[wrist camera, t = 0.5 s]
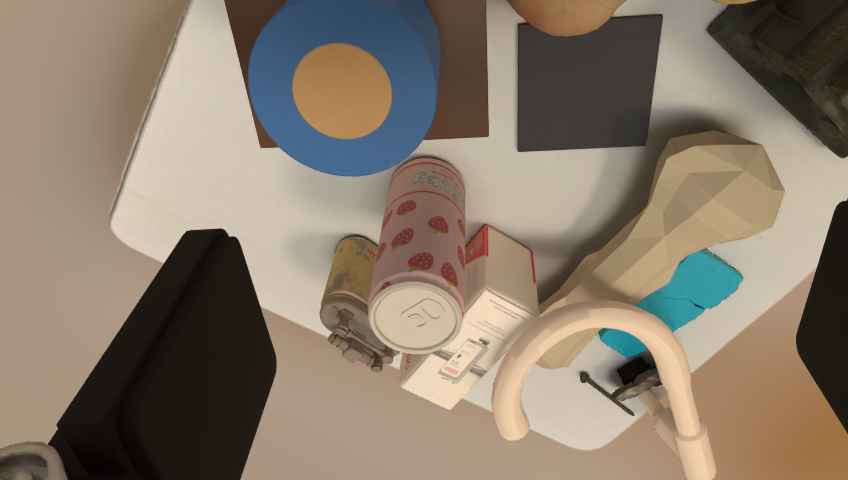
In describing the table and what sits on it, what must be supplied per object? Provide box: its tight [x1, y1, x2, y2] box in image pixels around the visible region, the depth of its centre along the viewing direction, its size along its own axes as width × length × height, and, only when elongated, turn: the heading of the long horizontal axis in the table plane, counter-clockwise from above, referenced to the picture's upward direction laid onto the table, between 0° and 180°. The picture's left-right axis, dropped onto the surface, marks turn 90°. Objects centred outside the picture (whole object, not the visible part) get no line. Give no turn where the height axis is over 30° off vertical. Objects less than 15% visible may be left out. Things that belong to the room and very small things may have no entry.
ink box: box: [398, 225, 540, 410], centre depth 49 cm, size 9×5×12 cm
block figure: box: [610, 357, 663, 401], centre depth 56 cm, size 6×2×6 cm
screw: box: [580, 373, 634, 416], centre depth 59 cm, size 8×1×1 cm, turn 46°
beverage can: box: [368, 158, 465, 354], centre depth 41 cm, size 6×6×15 cm
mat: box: [518, 14, 663, 152], centre depth 42 cm, size 9×9×1 cm
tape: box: [248, 0, 441, 176], centre depth 23 cm, size 6×6×5 cm
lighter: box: [320, 237, 400, 372], centre depth 48 cm, size 7×4×10 cm, turn 51°
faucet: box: [491, 299, 716, 480], centre depth 50 cm, size 8×15×24 cm
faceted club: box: [535, 130, 785, 369], centre depth 46 cm, size 9×8×25 cm
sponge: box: [599, 249, 743, 358], centre depth 52 cm, size 2×12×6 cm
